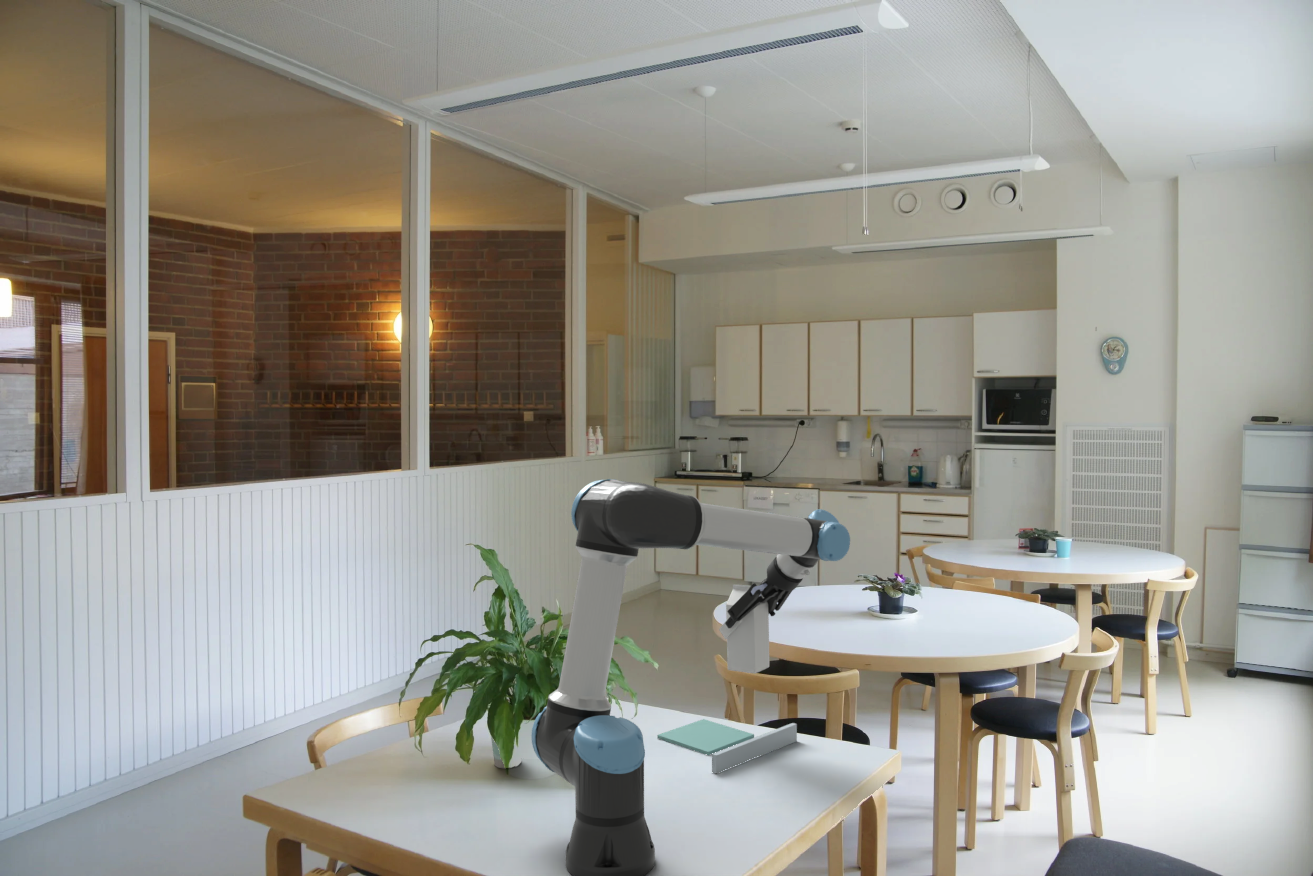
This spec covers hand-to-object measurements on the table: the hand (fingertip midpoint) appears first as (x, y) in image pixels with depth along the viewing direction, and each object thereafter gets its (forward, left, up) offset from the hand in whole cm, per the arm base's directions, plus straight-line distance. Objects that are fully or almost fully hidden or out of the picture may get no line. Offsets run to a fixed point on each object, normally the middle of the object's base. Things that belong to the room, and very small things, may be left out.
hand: (736, 630), depth 218 cm
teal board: (-2, +8, -26) cm, 27 cm away
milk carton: (0, -4, -8) cm, 9 cm away
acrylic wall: (-3, -8, -26) cm, 28 cm away
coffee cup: (-44, +28, -26) cm, 59 cm away
